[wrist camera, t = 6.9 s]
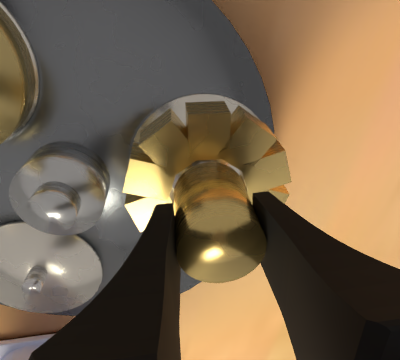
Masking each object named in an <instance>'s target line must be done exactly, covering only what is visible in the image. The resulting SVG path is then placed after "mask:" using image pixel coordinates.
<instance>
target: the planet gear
mask: <svg viewBox="0 0 400 360" xmlns="http://www.w3.org/2000/svg"><path fill="white" fill-rule="evenodd" d="M185 110H186V126H185V125H184V124H183V122H182V121H181V120H180V119H179V117H178V116H177V115H176V114H175V113H174V111H173V110H172V109H171V108H170V109H168V110H167V111H166V112H164V113H163V114H162V115H161V116H159V117H158V118H157V119H155V120H154V121H153V122H152V123H150V124H149V125H148V126H146V127H145V128H144V129H143V130H141V133H140V139H139V144H137V143H133V146H132V150H131V155H130V159H129V163H128V168H127V172H126V177H125V182H124V187H123V193H127V194H126V200H125V207H126V208H127V210H128V212H129V214H130V215H131V217H132V219H133V220H134V222H135V224H136V226H137V227H138V229H139V231H140V232H142V231H144V229H145V227H146V225H147V223H148V221H149V219H150V217H151V214H152V212H153V209H154V207H155V206H156V205H157V204H165V203H173V207H174V214H175V228H176V252H177V260H178V263H179V265H180V267H181V268H182V270H183V271H184V272H185V273H186V274H188V275H189V276H190V277H192V278H194V279H197V280H199V281H203V282H208V283H224V282H229V281H233V280H236V279H239V278H241V277H243V276H245V275H247V274H248V273H250V272H251V271H253V270H254V269H255V268H256V267H257V266H258V265H259V264H260V262H261V261H262V259H263V257H264V255H265V253H266V248H267V242H266V237H265V234H264V232H263V230H262V227H261V225H260V222H259V220H258V218H257V215H256V213H255V210H254V208H253V206H252V198H253V193H258V192H266V191H269V192H270V193H271V194H273V195H274V196H275V197H276V198H278V199H279V200H280V201H281V202H283V203H284V204H285V202H286V200H287V198H288V196H289V193H288V191H287V190H286V188H285V186H284V184H287V183H290V182H291V177H290V172H289V167H288V162H287V157H286V153H285V150H284V148H283V147H282V146H281V145H280V143H279V142H278V141H277V138H276V136H275V135H274V134H273V133H272V131H271V130H270V129H269V127H268V126H267V125H266V124H264V123H263V122H262V121H260V120H259V119H257V118H256V117H255V116H253V115H252V114H250V113H249V112H248V111H246V110H245V109H243V108H242V107H241V106H239V105H238V106H237V108H236V109H235V110H234V112H233V113H232V114H231V112H230V110H229V109H228V107H227V105H226V103H225V101H209V102H185ZM217 159H222V160H224V161H226V162H227V163H229V164H231V165H232V166H234V167H236V168H237V169H239V171H240V176H239V174H238V173H237V172H236V171H235V170H234V169H232V168H231V167H229V166H227V165H225V164H222V163H217V162H206V163H201V164H198V165H195V166H193V167H191V168H189V169H188V170H186V171H185V172H184V173H183V174H182V175H181V176H180V177H179V179H178V180H177V182H176V184H175V187H174V188H173V186H172V185H173V182H174V179H175V176H176V175H177V174H178V173H179V172H181V171H182V170H184V169H185V168H186V167H188V166H189V165H191V164H192V163H194V162H195V161H199V160H217Z"/></svg>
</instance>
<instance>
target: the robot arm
mask: <svg viewBox="0 0 400 360" xmlns="http://www.w3.org/2000/svg"><path fill="white" fill-rule="evenodd" d="M252 206H253V208H254V210H255V213H256V215H257V218H258V220H259V222H260V225H261V227H262V230H263V232H264V234H265V237H266V242H267V248H266V253H265V255H264V257H263V259H262V261H261V262H260V263H261V265H262V267H263V270H264V272H265V275H266V277H267V279H268V282H269V284H270V286H271V289H272V291H273V293H274V296H275V298H276V300H277V303H278V305H279V307H280V310H281V312H282V315H283V318H284V321H285V324H286V327H287V330H288V333H289V336H290V340H291V343H292V346H293V349H294V353H295V356H296V360H400V269H398V268H395V267H393V266H390V265H388V264H385V263H383V262H381V261H378V260H376V259H374V258H372V257H370V256H367V255H365V254H363V253H361V252H359V251H357V250H355V249H353V248H351V247H349V246H347V245H345V244H344V243H342V242H340V241H338V240H336V239H335V238H333V237H331V236H329V235H328V234H326V233H325V232H323V231H322V230H320V229H318V228H317V227H315V226H314V225H312V224H311V223H309V222H308V221H307V220H305V219H304V218H302V217H301V216H300V215H298V214H297V213H296V212H294V211H293V210H292V209H290V208H289V207H288V206H286V205H285V204H284V203H283V202H281V201H280V200H279V199H278V198H276V197H275V196H274V195H273V194H271V193H270V192H269V191H266V192H258V193H253V198H252ZM180 278H181V267H180V265H179V263H178V260H177V252H176V228H175V214H174V207H173V203H165V204H157V205H156V206H155V207H154V209H153V212H152V214H151V217H150V219H149V221H148V223H147V225H146V227H145V229H144V231H143V233H142V235H141V236H140V238H139V240H138V242H137V244H136V245H135V247H134V248H133V250H132V251H131V253H130V254H129V256H128V258H127V259H126V260H125V262H124V263H123V265H122V266H121V267H120V269H119V270H118V271H117V273H116V274H115V275H114V276H113V278H112V279H111V280H110V281H109V282H108V284H107V285H106V286H105V287H104V288H103V289H102V291H101V292H100V293H99V294H98V295H97V296H96V297H95V298H94V299H93V300H92V301H91V302H90V303H89V304H88V305H87V306H86V307H85V308H84V309H83V310H82V311H81V312H80V313H79V314H78V315H77V316H76V317H75V318H73V319H72V320H71V321H70V322H69V323H68V324H67V325H66V326H64V327H63V328H62V329H61V330H60V331H58V332H57V333H55V334H48V335H40V336H33V337H26V338H18V339H11V340H4V341H0V360H181V353H180V337H179V312H180Z"/></svg>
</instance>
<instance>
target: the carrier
mask: <svg viewBox="0 0 400 360" xmlns="http://www.w3.org/2000/svg"><path fill="white" fill-rule="evenodd" d="M209 101H225V103H226V105H227V107H228V109H229V110H230V112H231V114H232V113H233V112H234V110H235V109H236V108H237V106H238V105H239V106H241V107H242V108H243V109H245V110H246V111H248V112H249V113H250V114H252V115H253V116H255V117H256V118H257V119H259V120H260V121H262V122H263V123H264V124H266V125H267V126H268V127H269V129H270V130H271V131H272V133H273V134H274V127H273V121H272V115H271V109H270V104H269V101H268V97H267V94H266V91H265V88H264V85H263V81H262V78H261V76H260V74H259V72H258V69H257V67H256V65H255V63H254V61H253V59H252V57H251V55H250V52H249V50H248V49H247V47H246V46H245V44H244V42H243V41H242V39H241V38H240V36H239V35H238V33H237V32H236V30H235V29H234V27H233V26H232V24H231V22H230V21H229V20H228V19H227V18H226V16H225V15H224V14H223V13H222V12H221V11H220V10H219V8H218V7H217V6H216V5H215V4H214V3H213V1H212V0H0V304H2V305H6V306H10V307H13V308H16V309H19V310H23V311H28V312H35V313H46V314H55V315H69V316H77V315H78V314H79V313H80V312H81V311H82V310H83V309H84V308H85V307H86V306H87V305H88V304H89V303H90V302H91V301H92V300H93V299H94V298H95V297H96V296H97V295H98V294H99V293H100V292H101V291H102V289H103V288H104V287H105V286H106V285H107V284H108V282H109V281H110V280H111V279H112V278H113V276H114V275H115V274H116V273H117V271H118V270H119V269H120V267H121V266H122V265H123V263H124V262H125V260H126V259H127V258H128V256H129V254H130V253H131V251H132V250H133V248H134V247H135V245H136V244H137V242H138V240H139V238H140V236H141V235H142V233H143V231H142V232H140V231H139V229H138V227H137V226H136V224H135V222H134V220H133V219H132V217H131V215H130V214H129V212H128V210H127V208H126V207H125V200H126V194H127V193H123V187H124V182H125V177H126V172H127V168H128V163H129V159H130V155H131V150H132V146H133V143H137V144H139V139H140V133H141V130H143V129H144V128H145V127H146V126H148V125H149V124H150V123H152V122H153V121H154V120H155V119H157V118H158V117H159V116H161V115H162V114H163V113H164V112H166V111H167V110H168V109H170V108H171V109H172V110H173V111H174V113H175V114H176V115H177V116H178V117H179V119H180V120H181V121H182V122H183V124H184V125H185V126H186V110H185V102H209ZM206 162H217V163H222V164H225V165H227V166H229V167H231V168H232V169H234V170H235V171H236V172H237V173H238V174H239V176H240V171H239V169H237V168H236V167H234V166H232V165H231V164H229V163H227V162H226V161H224V160H222V159H217V160H199V161H195V162H194V163H192V164H191V165H189V166H188V167H186V168H185V169H184V170H182V171H181V172H179V173H178V174H177V175H176V176H175V179H174V182H173V185H172V186H173V188H174V187H175V184H176V182H177V180H178V179H179V177H180V176H181V175H182V174H183V173H184V172H185V171H186V170H188V169H189V168H191V167H193V166H195V165H198V164H201V163H206ZM200 282H202V281H199V280H197V279H194V278H192V277H190V276H189V275H188V274H186V273H185V272H184V271H183V270H182V268H181V278H180V294H181V293H183V292H185V291H187V290H189V289H191V288H192V287H194V286H195V285H197V284H198V283H200Z"/></svg>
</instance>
